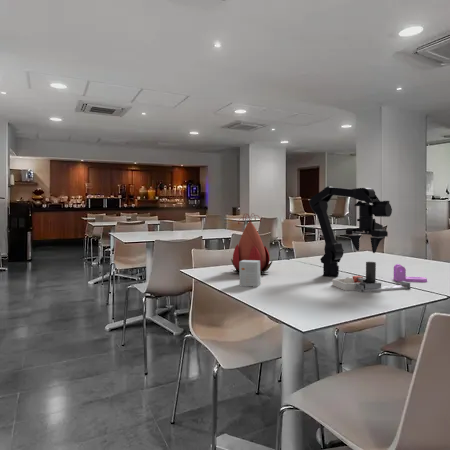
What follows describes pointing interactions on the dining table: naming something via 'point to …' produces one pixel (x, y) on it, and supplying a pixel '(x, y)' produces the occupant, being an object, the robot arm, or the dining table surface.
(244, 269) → the small box
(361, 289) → the rail
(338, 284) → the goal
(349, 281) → the ball
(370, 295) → the dining table surface
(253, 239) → the decorative flower
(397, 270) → the bracket
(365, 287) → the post on base plate
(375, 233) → the robot arm
